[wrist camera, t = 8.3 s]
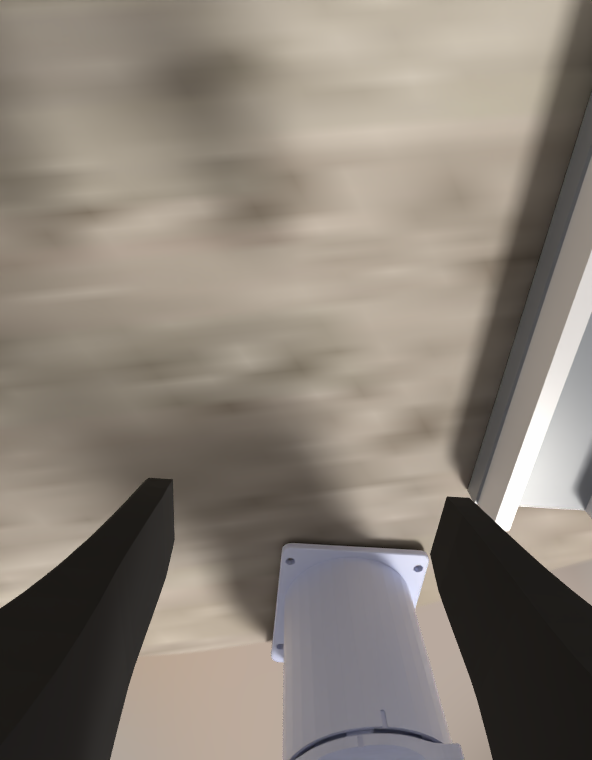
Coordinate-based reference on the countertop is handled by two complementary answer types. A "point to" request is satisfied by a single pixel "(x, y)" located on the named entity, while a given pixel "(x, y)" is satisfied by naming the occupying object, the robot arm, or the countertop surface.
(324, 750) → the robot arm
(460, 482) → the countertop surface
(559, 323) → the grey tray
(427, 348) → the countertop surface
